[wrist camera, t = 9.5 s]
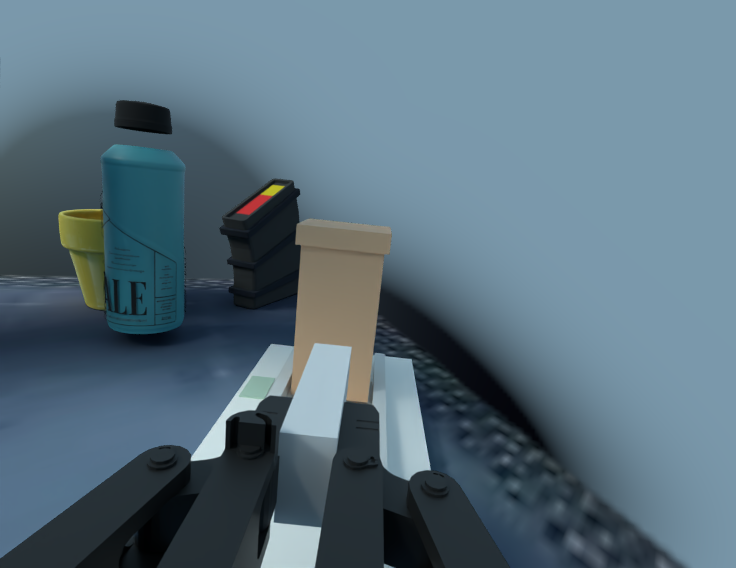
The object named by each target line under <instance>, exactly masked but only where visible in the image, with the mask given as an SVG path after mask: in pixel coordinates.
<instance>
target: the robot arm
mask: <svg viewBox="0 0 736 568" xmlns="http://www.w3.org/2000/svg"><path fill="white" fill-rule="evenodd" d="M351 349H352V347H348V346H339V345H329V344H319V343H315V344H314V346H313V349H312V351H311V354H310V356H309V359H308V361H307V364H306V366H305V369H304V372H303V374H302V377H301V379H300V382H299V384H298V387H297V389H296V392H295V394H294V397H293V398H292V397H282V396H272V395H270V396H268V397H267V398H265V399H264V400H262V401H261V402H260V403H259V405H258V406H257V408H256V410H247V411H242V412H238V413H236V414H234V415H231V416H230V417H229V418H228V419H227V420H226V433H225V450H224V451H223V453H222V455H221V456H219V457H216V458H212V459H206V460H197V461H191V454H190V453H189V451H188V450H187V449H185V448H183V447H180V446H174V445H166V446H165V445H164V446H159V447H155V448H152V449H149V450H147V451H145V452H143V453H142V454H140V455H139V456H137V457H136V458H135V459H133V460H132V461H131V462H129V463H128V464H127V465H125V466H124V467H123V468H121V469H120V470H118V471H117V472H116V473H114V474H113V475H112V476H110V477H109V478H108V479H106V480H105V481H104V482H102V483H101V484H100V485H98V486H97V487H96V488H94V489H93V490H92V491H90V492H89V493H88V494H86V495H85V496H84V497H82V498H81V499H80V500H78V501H77V502H76V503H74V504H73V505H72V506H70V507H69V508H68V509H66V510H65V511H64V512H62V513H61V514H59V515H58V516H57V517H55V518H54V519H53V520H51V521H50V522H49V523H47V524H46V525H45V526H43V527H42V528H41V529H39V530H38V531H37V532H35V533H34V534H33V535H31V536H30V537H29V538H27V539H26V540H25V541H23V542H22V543H21V544H19V545H18V546H17V547H15V548H14V549H13V550H11V551H10V552H9V553H7V554H6V555H5V556H3V557H2V558H0V568H261V565H262V561H263V558H264V555H265V551H266V548H267V545H268V541H269V538H270V523H271V519H272V515H273V512H274V523H282V524H291V525H301V526H311V527H321V533H320V539H319V545H318V551H317V557H316V563H315V568H384V564H386V565H389V566H391V567H394V568H510V567H509V565H508V563H507V562H506V560H505V558H504V557H503V555H502V553H501V552H500V550H499V549H498V547H497V545H496V544H495V542H494V540H493V539H492V537H491V536H490V534H489V532H488V531H487V529H486V527H485V526H484V524H483V523H482V521H481V519H480V518H479V516H478V514H477V513H476V511H475V510H474V508H473V506H472V505H471V503H470V501H469V500H468V498H467V497H466V495H465V493H464V492H463V490H462V488H461V487H460V485H459V484H458V483H457V482H456V481H455V480H454V479H453V478H451V477H450V476H448V475H446V474H444V473H441V472H438V471H431V470H424V471H419V472H417V473H415V474H414V475H412V476H411V478H410V480H409V481H408V480H405V479H402V478H400V477H397V476H395V475H393V474H392V473H390V472H389V471H387V470H386V469H385V468H384V467H383V465H382V462H381V459H380V431H379V430H380V425H379V412H378V411H377V409H376V408H375V407H374V405H370V404H361V403H351V402H346V399H347V389H348V379H349V369H350V359H351ZM274 509H275V510H274Z"/></svg>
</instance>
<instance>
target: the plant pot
mask: <svg viewBox="0 0 736 568" xmlns="http://www.w3.org/2000/svg"><path fill="white" fill-rule="evenodd" d="M102 214H103V209H102V213H101V209H83V210H68V211H63V212H61V213H59V229H60V238H61V243H62V246H64V247H65V248H67V249H69V251H70V254H71V258H72V261H73V264H74V267H75V270H76V273H77V277H78V280H79V283H80V286H81V290H82V293H83V296H84V300H85V303H86V305H87V306H88V307H90V308H93V309H96V310H104V309H105V307H106V303H105V290H104V283H103V281H104V273H103V272H104V271H105V266H104V265H105V262H104V261H105V260H104V259H105V258H104V257H105V255H104V237H103V236H104V227H102V226H103V225H101V224H102V223H101V222H103V215H102ZM101 215H102V216H101ZM101 220H102V221H101ZM101 227H102V228H101ZM101 229H102V230H101ZM101 232H102V233H101ZM102 235H103V236H102ZM102 256H103V257H102ZM103 260H104V261H103ZM104 306H105V307H104ZM104 311H106V309H105V310H104Z"/></svg>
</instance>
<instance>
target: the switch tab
mask: <svg viewBox="0 0 736 568" xmlns="http://www.w3.org/2000/svg"><path fill="white" fill-rule="evenodd" d="M391 237H392V233H391V228H390V227H383V226H374V225H364V224H356V223H346V222H337V221H328V220H318V219H307V220H305V221H303V222H300V223H298V224H297V227H296V242H295V244H296V245H301V255H300V269H299V284H298V298H297V312H296V327H295V341H294V355H293V370H292V384H291V394H295V392H296V389H297V387H298V384H299V382H300V379H301V377H302V374H303V372H304V369H305V366H306V364H307V361H308V359H309V356H310V354H311V351H312V349H313V346H314V344H315V343H319V344H329V345H339V346H348V347H352V349H351V359H350V369H349V379H348V389H347V399H346V400H349V401H358V402H367V403H368V394H369V385H370V376H371V368H372V359H373V350H374V341H375V332H376V323H377V314H378V305H379V297H380V288H381V279H382V270H383V261H384V254H390V245H391Z"/></svg>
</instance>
